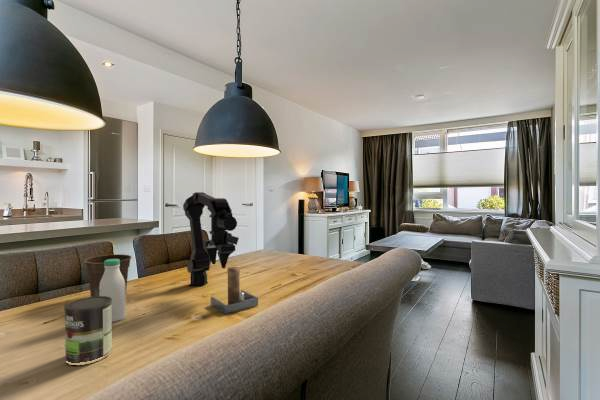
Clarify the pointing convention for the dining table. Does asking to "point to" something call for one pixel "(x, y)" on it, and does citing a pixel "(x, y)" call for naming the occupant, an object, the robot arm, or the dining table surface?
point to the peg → (233, 284)
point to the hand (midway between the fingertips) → (218, 266)
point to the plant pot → (97, 270)
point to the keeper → (236, 303)
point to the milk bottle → (114, 288)
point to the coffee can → (88, 328)
